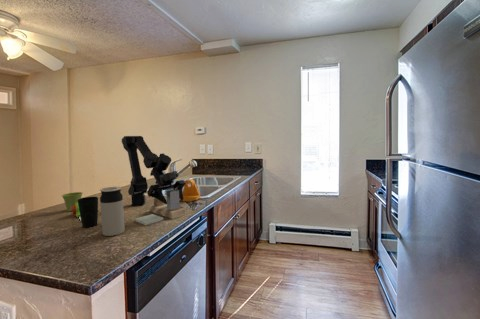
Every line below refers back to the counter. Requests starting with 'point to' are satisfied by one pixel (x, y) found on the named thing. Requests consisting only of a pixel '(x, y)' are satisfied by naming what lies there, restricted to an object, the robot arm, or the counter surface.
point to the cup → (88, 211)
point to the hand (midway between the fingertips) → (174, 201)
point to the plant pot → (71, 199)
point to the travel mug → (112, 211)
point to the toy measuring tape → (76, 211)
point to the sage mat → (149, 219)
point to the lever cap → (173, 200)
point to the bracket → (190, 191)
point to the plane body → (165, 210)
